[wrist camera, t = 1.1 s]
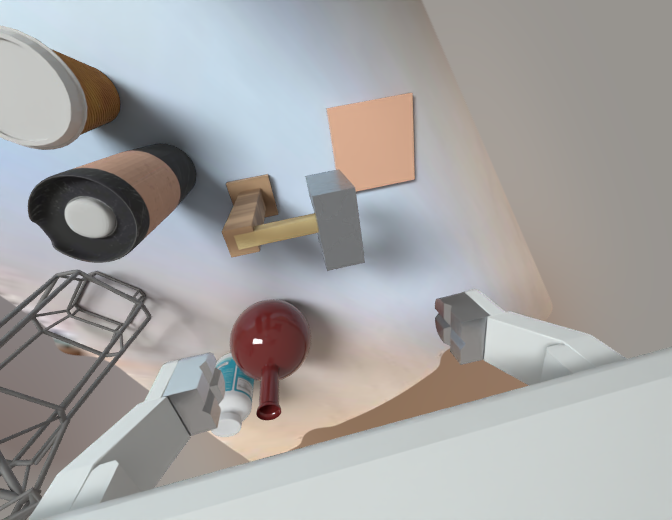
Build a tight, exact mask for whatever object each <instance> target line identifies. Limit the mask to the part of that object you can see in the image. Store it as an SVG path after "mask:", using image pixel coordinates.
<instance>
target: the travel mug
mask: <svg viewBox="0 0 672 520" xmlns="http://www.w3.org/2000/svg"><path fill="white" fill-rule="evenodd" d="M195 181H196V170H195V166H194V164H193V162H192V160H191V159H190V158H189V157H188V155H187V154H186V153H184V152H183V151H182V150H180V149H179V148H177V147H175V146H172V145H168V144H155V145H150V146H146V147H142V148H137V149H133V150H129V151H125V152H121V153H118V154H115V155H112V156H109V157H106V158H104V159H101V160H98V161H95V162H92V163H89V164H86V165H83V166H80V167H77V168H74V169H71V170H68V171H65V172H62V173H59V174H56V175H53V176H51V177H48V178H46V179H44V180H43V181H41V182H40V183H39V184H37V185H36V187H35V188H34V189H33V190H32V192H31V194H30V197H29V200H28V214H29V218H30V220H31V221H32V222H34V223H36V224H38V225H39V226H40V227H41V229H42V230H43V231H44V232H45V233H46V235H47V236H48V237H49V238H50V240H51V242H52V245H53V247H54V248H55V249H56V250H57V251H59V252H61V253H63V254H65V255H67V256H69V257H72V258H75V259H78V260H81V261H86V262H94V263H103V262H110V261H114V260H117V259H120V258H122V257H124V256H125V255H127V254H128V253H129V252H131V251H132V250H133V249H134V248H135V247H136V246H137V245H138V244H139V243H140V242H141V241H142V240H143V239H144V238H145V237H146V236H147V235H148V234H150V233H151V232H152V231H153V230H154V229H155V228H156V227H157V226H158V225H159V224H160V223H161V222H162V221H163V220H164V219H165V218H166V217H167V216H168V215H169V214H170V213H171V212H172V211H173V210H174V209H175V208H176V207H177V206H178V205H179V204H180V202H181V201H182V200H183V199H184V198H185V197H186V195H187V194H188V193H189V192H190V191H191V189H192V188H193V186H194V184H195Z"/></svg>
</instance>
